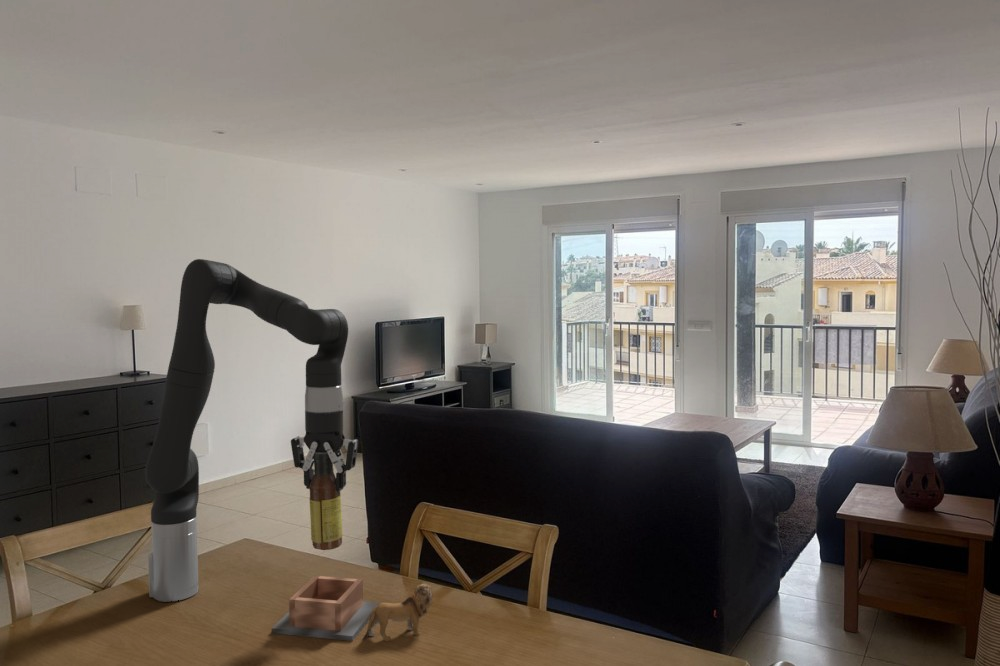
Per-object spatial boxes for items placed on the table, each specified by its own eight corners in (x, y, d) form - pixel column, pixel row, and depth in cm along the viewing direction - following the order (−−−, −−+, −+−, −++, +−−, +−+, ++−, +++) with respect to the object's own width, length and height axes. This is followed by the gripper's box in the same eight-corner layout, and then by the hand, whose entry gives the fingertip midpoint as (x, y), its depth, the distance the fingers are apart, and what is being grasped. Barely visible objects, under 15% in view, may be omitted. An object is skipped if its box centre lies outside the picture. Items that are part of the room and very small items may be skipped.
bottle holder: (271, 633, 143) (271, 601, 143) (305, 600, 158) (304, 571, 158) (352, 641, 140) (352, 608, 140) (379, 607, 155) (378, 577, 155)
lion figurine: (427, 620, 149) (427, 578, 148) (437, 631, 144) (437, 587, 144) (358, 637, 142) (357, 592, 141) (366, 649, 137) (366, 603, 137)
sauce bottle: (346, 541, 151) (345, 447, 150) (336, 552, 145) (336, 455, 143) (316, 539, 152) (315, 446, 150) (305, 550, 145) (304, 453, 144)
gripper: (282, 409, 144) (283, 492, 145) (350, 412, 141) (351, 496, 142) (299, 403, 151) (300, 482, 152) (364, 405, 149) (365, 485, 150)
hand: (325, 488), depth 147 cm, fingers closed on sauce bottle, 6 cm apart
